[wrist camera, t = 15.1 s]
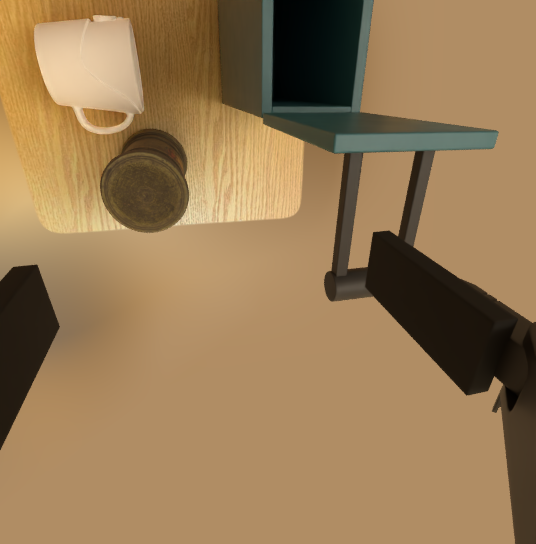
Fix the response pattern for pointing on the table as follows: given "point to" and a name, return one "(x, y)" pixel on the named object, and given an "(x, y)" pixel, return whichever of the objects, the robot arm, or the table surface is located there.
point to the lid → (354, 142)
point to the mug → (91, 67)
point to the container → (147, 182)
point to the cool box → (293, 54)
